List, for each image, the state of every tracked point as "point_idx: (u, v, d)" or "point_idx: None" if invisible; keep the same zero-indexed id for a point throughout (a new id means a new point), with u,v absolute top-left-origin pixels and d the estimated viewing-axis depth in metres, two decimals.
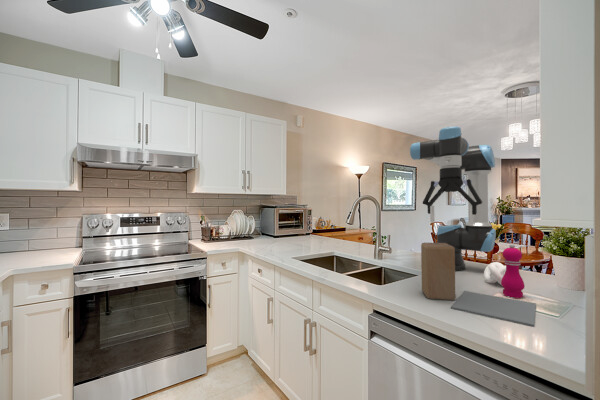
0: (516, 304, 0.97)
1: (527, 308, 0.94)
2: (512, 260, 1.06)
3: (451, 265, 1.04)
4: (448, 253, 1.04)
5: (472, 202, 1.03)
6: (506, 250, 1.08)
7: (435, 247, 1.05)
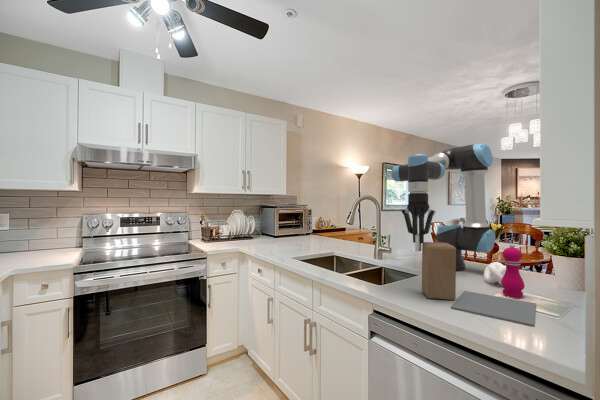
0: (516, 304, 0.97)
1: (527, 308, 0.94)
2: (512, 260, 1.06)
3: (452, 265, 1.03)
4: (449, 253, 1.03)
5: (420, 232, 1.12)
6: (506, 250, 1.08)
7: (436, 247, 1.05)
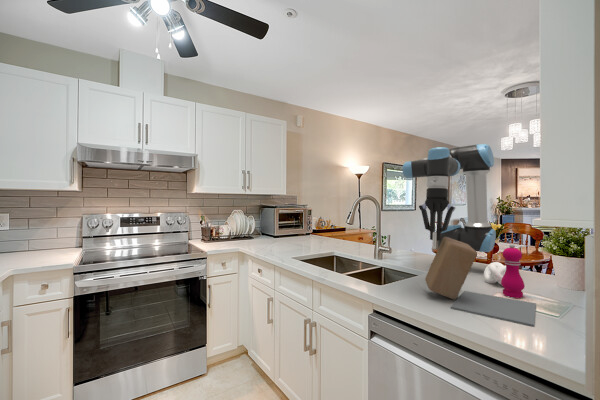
0: (516, 304, 0.97)
1: (527, 308, 0.94)
2: (512, 260, 1.06)
3: (466, 269, 1.01)
4: (469, 257, 1.00)
5: (438, 228, 1.07)
6: (506, 250, 1.08)
7: (458, 247, 1.00)
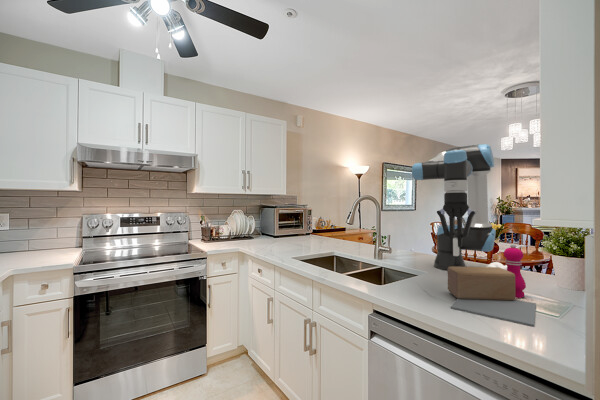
0: (516, 304, 0.97)
1: (527, 308, 0.94)
2: (513, 260, 1.06)
3: (495, 296, 1.01)
4: (508, 294, 1.01)
5: (459, 234, 1.03)
6: (507, 250, 1.08)
7: (514, 282, 1.01)
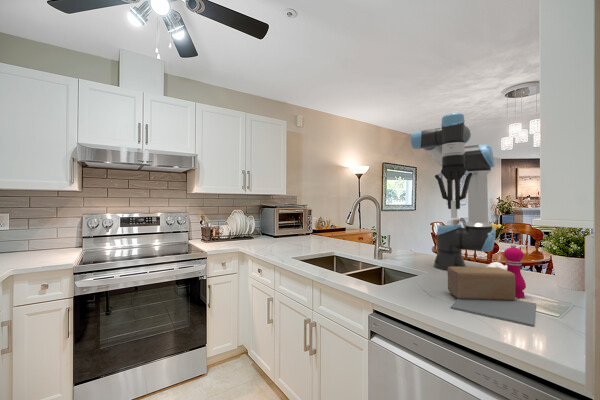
0: (516, 304, 0.97)
1: (527, 308, 0.94)
2: (513, 260, 1.06)
3: (495, 296, 1.01)
4: (508, 294, 1.01)
5: (457, 197, 1.04)
6: (507, 250, 1.08)
7: (514, 282, 1.01)
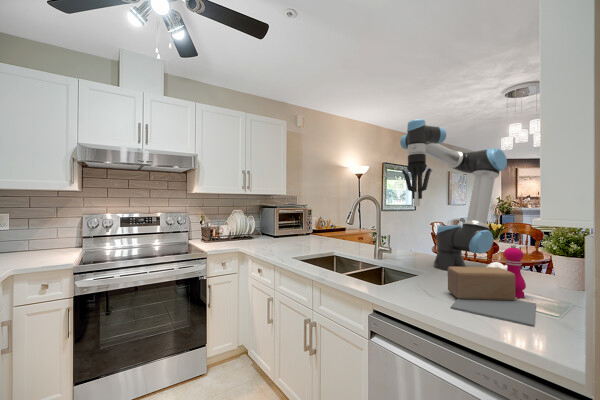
0: (516, 304, 0.97)
1: (527, 308, 0.94)
2: (513, 260, 1.06)
3: (495, 296, 1.01)
4: (508, 294, 1.01)
5: (419, 188, 1.26)
6: (507, 250, 1.08)
7: (514, 282, 1.01)
